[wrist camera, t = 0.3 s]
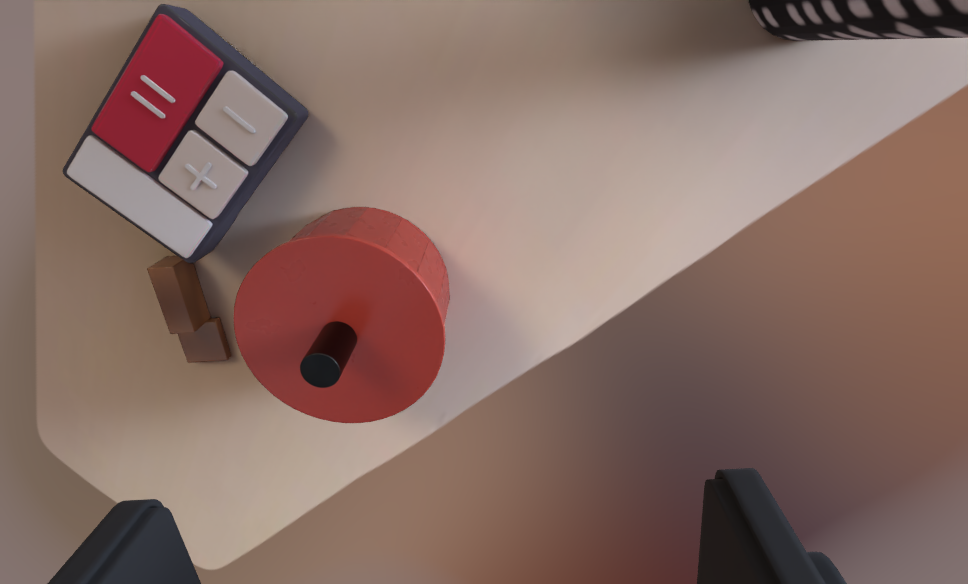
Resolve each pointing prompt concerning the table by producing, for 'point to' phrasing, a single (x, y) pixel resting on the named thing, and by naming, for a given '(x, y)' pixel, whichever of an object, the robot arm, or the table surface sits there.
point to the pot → (389, 242)
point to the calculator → (184, 135)
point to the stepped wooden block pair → (188, 310)
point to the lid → (339, 328)
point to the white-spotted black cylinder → (862, 19)
